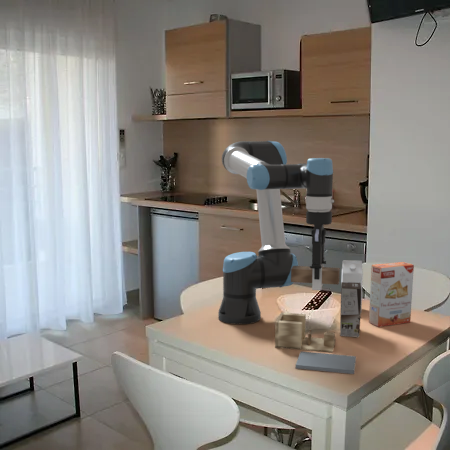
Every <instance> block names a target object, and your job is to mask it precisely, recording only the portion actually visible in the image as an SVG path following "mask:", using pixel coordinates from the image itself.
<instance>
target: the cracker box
mask: <svg viewBox="0 0 450 450" xmlns="http://www.w3.org/2000/svg"><path fill="white" fill-rule="evenodd" d="M414 267H415V266H414V264H412V263H409V262H406V261H400V262H399V261H398V262H389V263H378V264H376V263H375V264H371V268H370V269H371V271H370V292H369V294H370V295H369V315H368V323H369V324H371V325H373V326H376V327H378V328H380V327H381V328H382V327H387V326H395V325H403V324H409V323H411V319H412V318H411V316H412V315H411V314H412V302H413V301H412V300H413V288H414V287H413V283H414V269H415V268H414Z"/></svg>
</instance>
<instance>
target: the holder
mask: <svg viewBox="0 0 450 450" xmlns="http://www.w3.org/2000/svg"><path fill="white" fill-rule="evenodd" d="M306 317H307V316H306V314H305V313H295V312H293V313H292V312H283V311H282V312H280V313H279V315H278V317H277V319H276V321H275V323H274V324H275V326H274V335H275V336H274V348H279V349H280V348H281V349H289V350H290V349H291V350H301V351H310V352H313V351H314V352H321V353H323V352H324V353H333V351H334V348H335V344H336V337H335V336H336V335H335V334H336V333H335V332H333V331H325V332H324V333H323V338H322V337H312V329H309V331H308V334H307V336H306V328H307V327H306V325H307V323H306V321H307V318H306Z"/></svg>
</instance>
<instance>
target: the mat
mask: <svg viewBox="0 0 450 450" xmlns="http://www.w3.org/2000/svg"><path fill="white" fill-rule="evenodd" d="M356 361H357V356H355V355H347V354H346V355H344V354H336V353H333V354H332V353H326V352H324V353H323V352H315V351H314V352H313V351H304V350H301V351H300V352H299V355H298V358H297V361H296V363H295V369H298V370H299V369H301V370H307V371H308V370H310V371H318V372H319V371H321V372H331V373H341V374H350V375H354V374H355V371H356V369H355V368H356Z"/></svg>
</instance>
